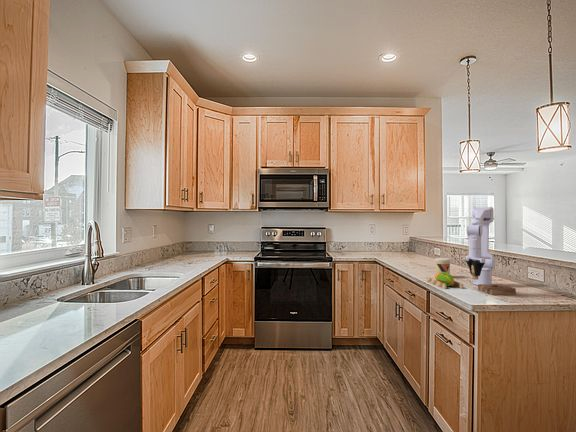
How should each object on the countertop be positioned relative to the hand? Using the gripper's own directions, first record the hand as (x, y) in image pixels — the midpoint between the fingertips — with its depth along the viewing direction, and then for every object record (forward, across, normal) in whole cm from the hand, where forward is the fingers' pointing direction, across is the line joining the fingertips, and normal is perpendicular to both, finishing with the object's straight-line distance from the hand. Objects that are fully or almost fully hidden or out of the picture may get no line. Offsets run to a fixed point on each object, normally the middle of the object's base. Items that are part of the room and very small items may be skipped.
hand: (475, 275), depth 173 cm
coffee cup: (+10, -46, +5) cm, 47 cm away
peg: (+2, 0, 0) cm, 2 cm away
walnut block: (+9, -2, +12) cm, 15 cm away
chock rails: (+9, -23, -5) cm, 25 cm away
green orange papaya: (+10, -23, -6) cm, 26 cm away
